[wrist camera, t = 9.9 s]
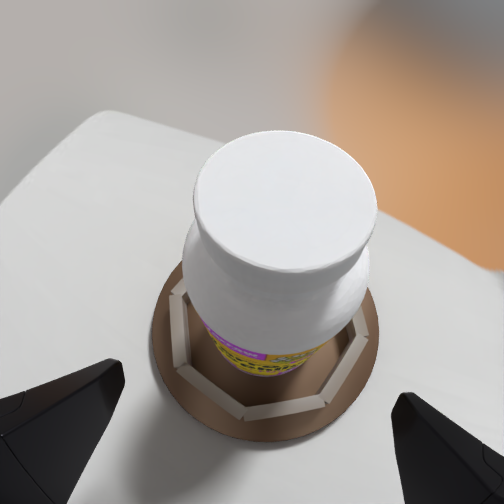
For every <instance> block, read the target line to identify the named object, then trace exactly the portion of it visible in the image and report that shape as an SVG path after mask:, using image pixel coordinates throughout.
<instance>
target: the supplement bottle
mask: <svg viewBox="0 0 504 504" xmlns="http://www.w3.org/2000/svg"><path fill="white" fill-rule="evenodd" d="M193 206H194V213H195V220H194V221H193V223H192V225H191V227H190V229H189V232H188V234H187V237H186V241H185V244H184V249H183V256H182V270H183V279H184V283H185V287H186V290H187V293H188V296H189V298H190V300H191V302H192V304H193V306H194V308H195V310H196V312H197V314H198V315H199V317H200V318H201V320H202V322H203V324H204V325H205V327H206V329H207V331H208V332H209V334H210V336H211V337H212V339H213V341H214V343H215V344H216V346H217V348H218V350H219V351H220V353H221V354H222V355H223V357H224V358H225V359H226V360H227V361H228V362H229V363H230V364H231V365H233V366H234V367H235V368H237V369H239V370H240V371H242V372H245V373H247V374H250V375H254V376H261V377H271V376H277V375H282V374H285V373H287V372H290V371H292V370H294V369H295V368H297V367H298V366H300V365H301V364H303V363H304V362H305V361H306V360H307V359H309V358H310V357H311V356H312V355H313V354H315V353H316V352H317V351H318V350H319V349H320V348H321V347H322V346H324V345H325V344H326V343H327V342H328V341H329V340H330V339H332V338H333V337H334V336H335V335H336V334H337V333H339V332H340V331H341V330H342V329H343V328H344V327H345V326H346V325H347V324H348V322H349V321H350V320H351V319H352V318H353V316H354V315H355V313H356V312H357V311H358V309H359V307H360V305H361V303H362V301H363V299H364V296H365V293H366V290H367V286H368V281H369V273H370V262H369V253H368V248H367V242H368V240H369V239H370V237H371V235H372V233H373V230H374V227H375V223H376V218H377V201H376V196H375V192H374V189H373V186H372V184H371V181H370V180H369V178H368V176H367V175H366V173H365V172H364V170H363V169H362V167H361V166H360V165H359V164H358V163H357V162H356V161H355V160H354V159H353V158H352V157H351V156H350V155H349V154H347V153H346V152H344V151H343V150H342V149H340V148H339V147H337V146H335V145H334V144H332V143H330V142H327V141H325V140H323V139H320V138H318V137H315V136H312V135H308V134H304V133H299V132H294V131H278V130H277V131H265V132H257V133H253V134H250V135H246V136H243V137H240V138H238V139H235V140H233V141H231V142H229V143H228V144H226V145H224V146H222V147H221V148H220V149H218V150H217V151H216V152H215V153H214V154H213V155H212V156H211V157H210V158H209V159H208V160H207V161H206V162H205V164H204V165H203V167H202V168H201V170H200V172H199V174H198V176H197V179H196V182H195V186H194V192H193Z"/></svg>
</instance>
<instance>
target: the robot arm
mask: <svg viewBox="0 0 504 504" xmlns="http://www.w3.org/2000/svg"><path fill="white" fill-rule="evenodd" d="M124 385H125V377H124V372H123V367H122V363H121V362H120V361H119V360H115V359H112V358H109V359H106V360H104V361H101V362H99V363H96V364H94V365H91V366H89V367H86V368H84V369H81V370H79V371H76V372H74V373H71V374H68V375H66V376H63V377H61V378H58V379H55V380H53V381H50V382H47V383H45V384H42V385H39V386H37V387H34V388H31V389H29V390H26V392H25V391H23V392H20V393H17V394H14V395H11V396H8V397H5V398H2V399H0V504H67V502H68V500H69V498H70V496H71V494H72V492H73V490H74V488H75V486H76V484H77V482H78V480H79V478H80V476H81V474H82V472H83V470H84V468H85V467H86V465H87V463H88V461H89V459H90V457H91V455H92V453H93V452H94V450H95V448H96V446H97V444H98V442H99V440H100V439H101V437H102V435H103V433H104V431H105V429H106V428H107V426H108V424H109V422H110V420H111V417H112V415H113V413H114V410H115V408H116V405H117V403H118V400H119V398H120V395H121V393H122V391H123V388H124ZM391 420H392V428H393V437H394V447H395V455H396V460H397V465H398V469H399V474H400V479H401V485H402V490H403V496H404V501H405V504H504V457H503V456H502V455H500V454H499V453H497V452H496V451H494V450H492V449H491V448H490V447H488V446H487V445H485V444H482V442H481V441H480V440H478V439H477V438H475V437H474V436H473V435H471V434H470V433H468V432H467V431H466V430H464V429H463V428H461V427H460V426H459V425H457V424H456V423H454V422H453V421H452V420H450V419H449V418H447V417H446V416H445V415H443V414H442V413H440V412H439V411H438V410H436V409H435V408H434V407H432V406H431V405H429V404H428V403H427V402H425V401H424V400H423V399H421V398H420V397H418V396H417V395H416V394H414V393H413V392H405V393H401V394H400V395H399V397H398V399H397V401H396V403H395V406H394V408H393V410H392V413H391Z"/></svg>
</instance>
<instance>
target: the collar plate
mask: <svg viewBox="0 0 504 504" xmlns="http://www.w3.org/2000/svg"><path fill="white" fill-rule="evenodd" d="M152 341H153V350H154V355H155V359H156V363H157V366H158V369H159V371H160V374H161V376H162V379H163V381H164V383H165V384H166V386H167V388H168V389H169V391H170V392H171V394H172V395H173V397H174V398H175V399H176V400H177V401H178V403H179V404H180V405H181V406H182V407H183V408H184V409H185V410H186V411H187V412H188V413H189V414H190V415H192V416H193V417H194V418H195V419H197V420H198V421H200V422H201V423H203V424H204V425H206V426H207V427H209V428H211V429H213V430H215V431H217V432H219V433H222V434H224V435H227V436H231V437H234V438H237V439H242V440H248V441H254V442H276V441H284V440H290V439H294V438H298V437H301V436H305V435H307V434H309V433H312V432H314V431H316V430H319V429H320V428H322V427H324V426H326V425H327V424H329V423H330V422H332V421H334V420H335V419H336V418H337V417H338V416H340V415H341V414H342V413H343V412H345V411H346V410H347V409H348V407H349V406H350V405H351V404H352V403H353V402H354V401H355V400H356V398H357V397H358V396H359V394H360V393H361V391H362V390H363V388H364V387H365V385H366V383H367V381H368V379H369V377H370V375H371V372H372V369H373V367H374V364H375V360H376V356H377V350H378V343H379V326H378V316H377V312H376V308H375V304H374V301H373V298H372V296H371V293H370V291H369V289H368V287H367V290H366V293H365V296H364V299H363V301H362V303H361V305H360V307H359V309H358V311H357V312H356V313H355V315H354V316H353V318H352V319H351V320H350V321H349V322H348V324H347V325H346V326H345V327H344V328H343V329H342V330H341V331H340V332H339V333H337V334H336V335H335V336H334V337H333V338H332V339H330V340H329V341H328V342H327V343H326V344H325V345H324V346H322V347H321V348H320V349H319V350H318V351H317V352H316V353H315V354H313V355H312V356H311V357H310V358H309V359H307V360H306V361H305V362H304V363H303V364H301V365H300V366H298V367H297V368H295V369H294V370H292V371H290V372H287V373H285V374H282V375H277V376H271V377H261V376H254V375H250V374H247V373H245V372H242V371H240V370H239V369H237V368H235V367H234V366H233V365H231V364H230V363H229V362H228V361H227V360H226V359H225V358H224V357H223V355H222V354H221V353H220V351H219V350H218V348H217V346H216V344H215V343H214V341H213V339H212V337H211V336H210V334H209V332H208V331H207V329H206V327H205V325H204V324H203V322H202V320H201V318H200V317H199V315H198V314H197V312H196V310H195V308H194V306H193V304H192V302H191V300H190V298H189V296H188V293H187V290H186V287H185V283H184V279H183V270H182V261H181V262H180V263H179V264H178V266H177V267H176V268H175V269H174V270H173V272H172V273H171V275H170V276H169V278H168V279H167V281H166V283H165V284H164V286H163V289H162V291H161V293H160V295H159V298H158V301H157V304H156V307H155V311H154V318H153V324H152Z"/></svg>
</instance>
